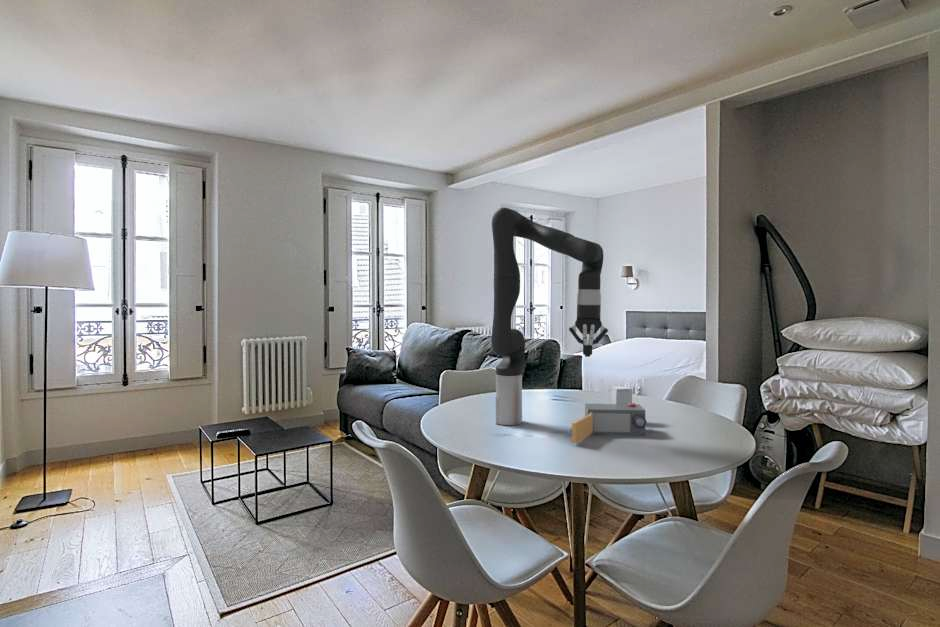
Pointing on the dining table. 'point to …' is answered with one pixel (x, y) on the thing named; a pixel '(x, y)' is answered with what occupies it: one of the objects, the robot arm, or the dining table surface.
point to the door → (582, 428)
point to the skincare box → (621, 395)
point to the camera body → (617, 418)
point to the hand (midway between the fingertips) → (587, 356)
